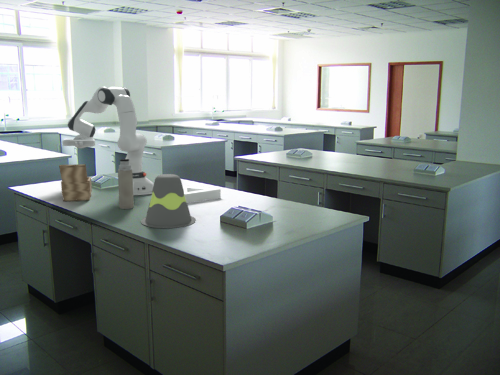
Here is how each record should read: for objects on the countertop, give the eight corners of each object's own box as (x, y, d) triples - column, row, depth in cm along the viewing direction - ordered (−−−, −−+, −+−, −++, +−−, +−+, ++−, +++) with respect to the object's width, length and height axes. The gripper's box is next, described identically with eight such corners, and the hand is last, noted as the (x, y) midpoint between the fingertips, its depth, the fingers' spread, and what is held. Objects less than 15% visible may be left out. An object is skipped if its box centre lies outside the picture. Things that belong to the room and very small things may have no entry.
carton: (92, 195, 285) (91, 176, 283) (90, 200, 272) (89, 181, 269) (65, 196, 281) (64, 177, 279) (62, 201, 267) (60, 181, 265)
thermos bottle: (122, 205, 260) (120, 158, 254) (135, 205, 259) (133, 158, 253) (117, 208, 252) (114, 160, 246) (130, 209, 251) (128, 160, 246)
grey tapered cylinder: (160, 212, 246) (159, 169, 242) (205, 217, 236) (204, 173, 232) (129, 224, 221) (127, 177, 216) (178, 231, 211) (177, 182, 206)
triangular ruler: (179, 205, 264) (179, 195, 263) (158, 197, 284) (158, 188, 282) (220, 198, 283) (220, 189, 282) (198, 192, 303) (198, 182, 301)
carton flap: (85, 164, 259) (85, 165, 259) (87, 180, 269) (87, 181, 269) (59, 164, 255) (59, 166, 255) (62, 181, 265) (62, 182, 265)
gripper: (63, 137, 299) (60, 139, 286) (95, 137, 305) (93, 138, 292) (64, 146, 301) (61, 148, 288) (95, 146, 306) (94, 148, 293)
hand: (78, 143), depth 290 cm, fingers closed
